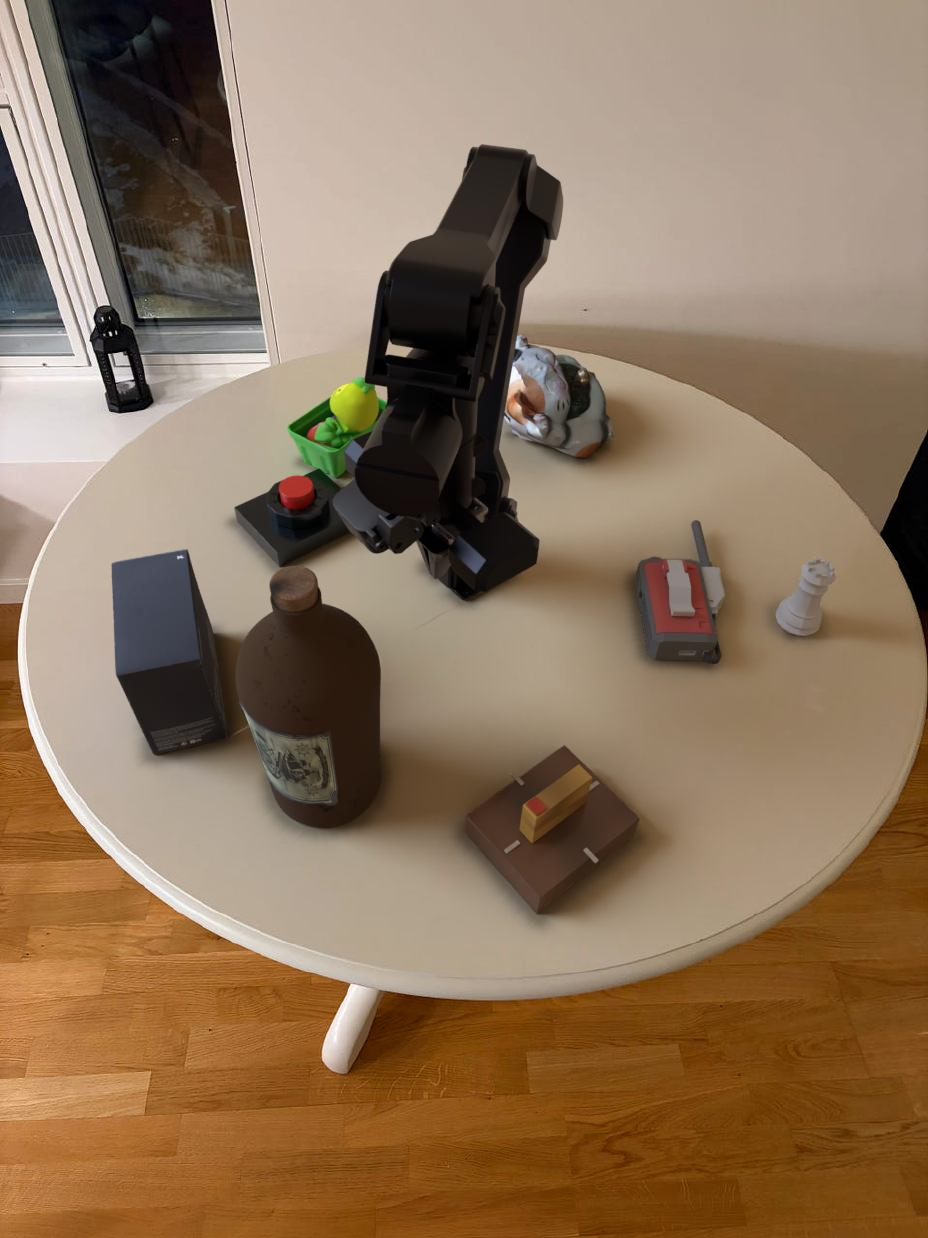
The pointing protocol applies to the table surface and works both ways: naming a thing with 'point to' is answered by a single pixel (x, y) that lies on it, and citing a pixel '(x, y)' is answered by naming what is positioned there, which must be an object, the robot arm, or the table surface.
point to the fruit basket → (336, 425)
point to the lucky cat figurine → (556, 402)
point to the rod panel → (549, 832)
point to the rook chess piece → (806, 599)
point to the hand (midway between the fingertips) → (437, 574)
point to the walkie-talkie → (680, 605)
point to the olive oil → (313, 703)
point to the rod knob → (555, 803)
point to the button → (296, 492)
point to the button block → (293, 521)
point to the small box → (166, 652)
